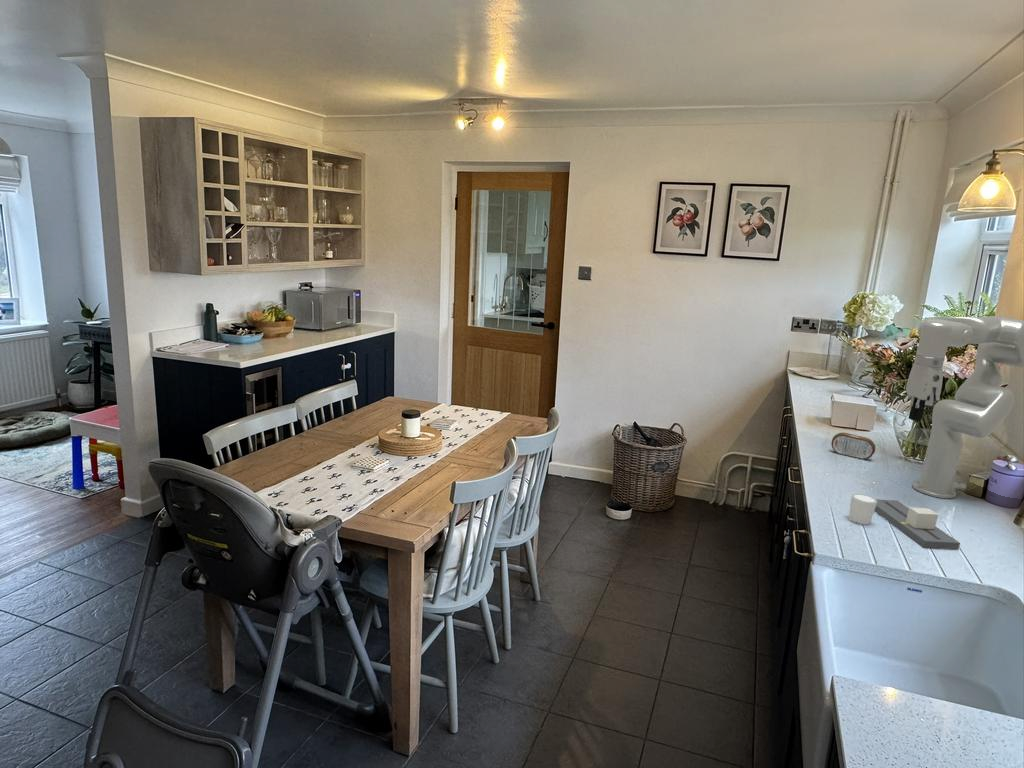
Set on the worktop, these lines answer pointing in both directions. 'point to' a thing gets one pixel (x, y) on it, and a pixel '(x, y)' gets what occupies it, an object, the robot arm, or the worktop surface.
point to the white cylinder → (862, 508)
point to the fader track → (923, 537)
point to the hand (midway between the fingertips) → (914, 419)
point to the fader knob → (922, 518)
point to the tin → (853, 446)
